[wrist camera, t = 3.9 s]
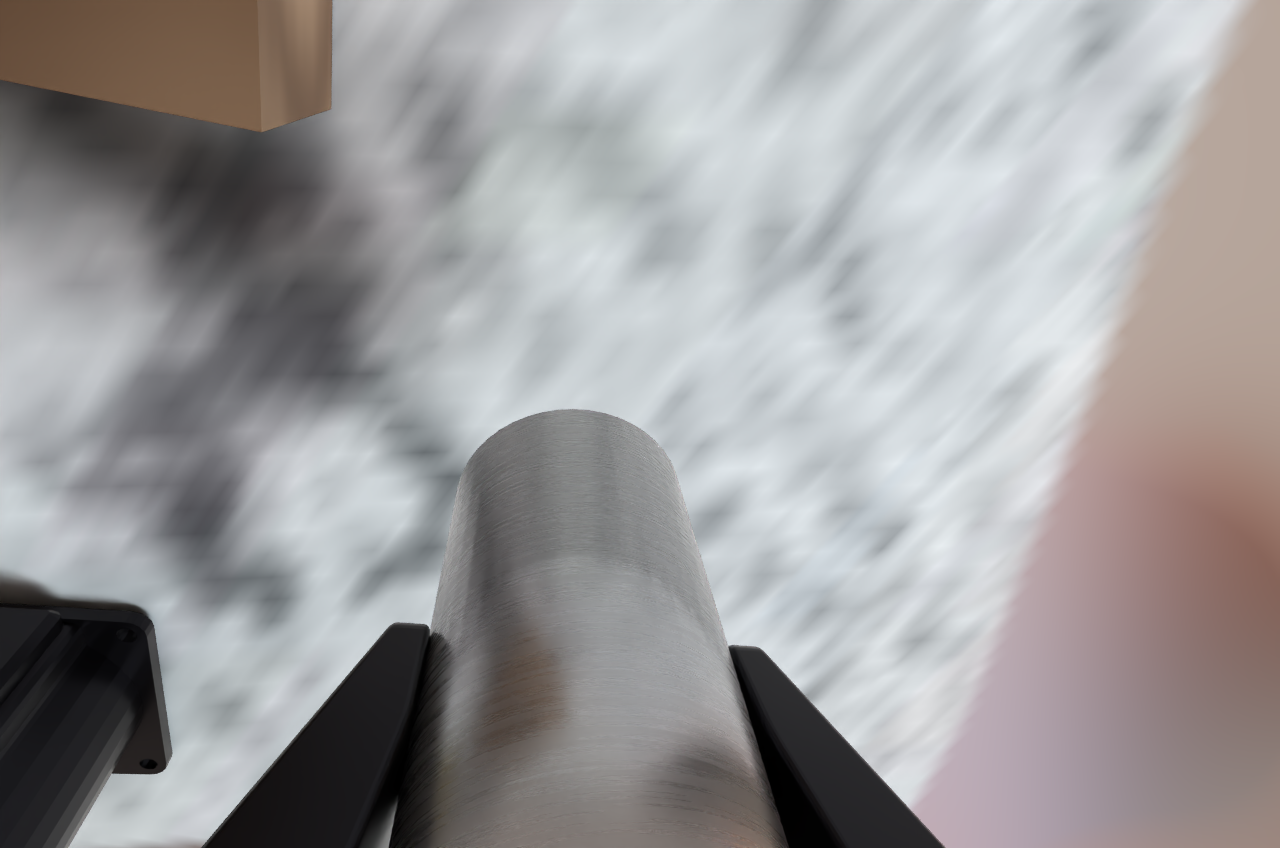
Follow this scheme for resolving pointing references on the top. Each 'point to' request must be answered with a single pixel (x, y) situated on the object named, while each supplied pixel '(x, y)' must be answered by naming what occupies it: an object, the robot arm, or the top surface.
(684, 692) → the grey metal peg
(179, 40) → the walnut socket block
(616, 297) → the top surface
